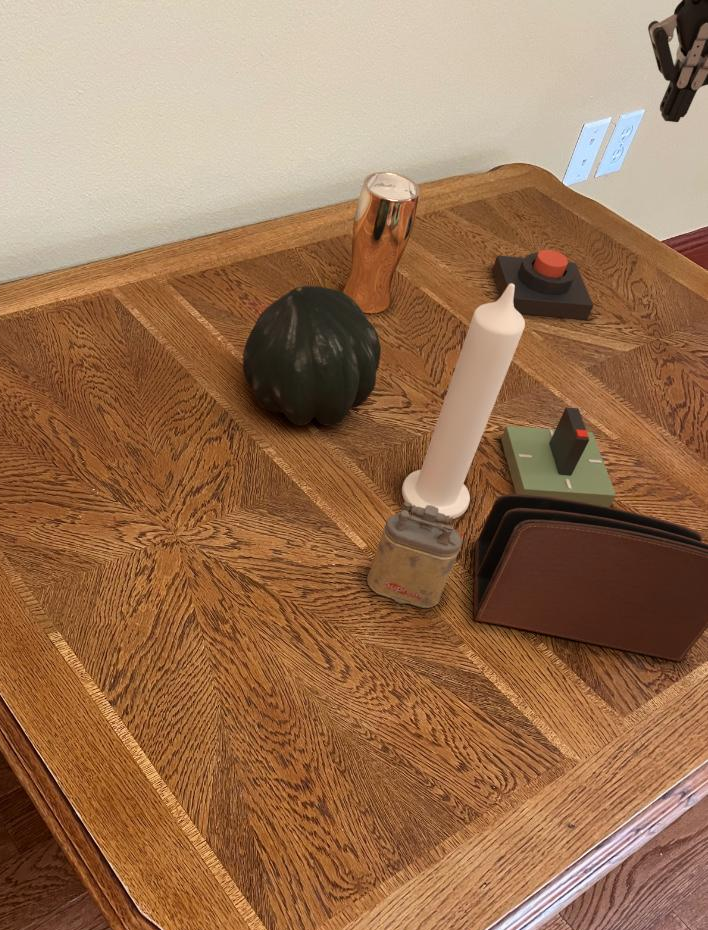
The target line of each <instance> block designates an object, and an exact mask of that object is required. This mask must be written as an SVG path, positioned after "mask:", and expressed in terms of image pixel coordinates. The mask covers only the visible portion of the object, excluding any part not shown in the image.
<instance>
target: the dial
mask: <svg viewBox="0 0 708 930" xmlns="http://www.w3.org/2000/svg"><path fill="white" fill-rule="evenodd" d="M580 411H581V410H580V408H578V407H570V406H569V407H568V406H565V408H564V410H563V413H562V415H561V416H560V419H559V421H558V423H557V426H556V428H555V429H556V430H555V432H554V434H553V436H552V438H551V440H550V442H549V444H550V447H551V450H552V454H553V457H554V460H555V463H556V467H557V470H558V473H559V475H572V473H573V471H574V469H575V467H576V465H577V463H578V461H579V460H580V458H581V456H582V454H583V452H584V450H585V448H586V446H587V444H588V442H589V436H588V433H587V432H588V431H587V428H586V426H585V424H584V420H583V417H582V415H581V412H580Z"/></svg>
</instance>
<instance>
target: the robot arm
mask: <svg viewBox="0 0 708 930" xmlns="http://www.w3.org/2000/svg"><path fill="white" fill-rule="evenodd" d="M675 30H676V35H677V41H678V47H677V49H676V54H675V56H676V57H675V61H674V59H673V55H672V51H671V47H670V42H672V41H673V39H674V32H675ZM647 31H648V35H649V39H650V43H651V46H652V50H653V54H654V58H655V61H656V67H657V69H658V71H659V73H661V75H662V76H663V78H664V80H665V81H667V82H669V83H668V86H667V88H666V90H665V93H664V95H663V97H662V98H661V99H662V100H661V102H660V104H659V111H660V112H661V114H660V115H661V117H662V119H663V120H664V122H672V123H679V121H680V120H681V118H685V116H686V115H687V114H688V111H689V109H690V108H691V105H692V103H693V100H694V98H695V96H696V94H697V92H698V90H699V89H701V88H702V87H705V86H708V0H681V1H680V2H679V3H678V4H677V5H676V6H675V9H674V12H673V14H672V15H670V16H668V17H666V18H665V19H663V20H662V21H660V22H659V21H658V20H653V21H651V22H650V23H649V25H648V27H647Z"/></svg>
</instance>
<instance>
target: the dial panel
mask: <svg viewBox="0 0 708 930" xmlns="http://www.w3.org/2000/svg"><path fill="white" fill-rule="evenodd" d="M555 430H556V428H555V429H554V428H546V427H545V428H543V427H530V426H518V425H516V426H515V425H505V428H504V430H503V433H502V435H501V438H500V442H501V446H502V449H503V453H504V456H505V460H506V463H507V467H508V471H509V474H510V478H511V482H512V485H513V489H514V492H515V493H514V494H524V495H536V496H546V497H553V498H560V499H567V500H573V501H579V502H585V503H590V504H596V505H601V506H605V507H610V508H611V505H612V503H613V502H614V500H615V498H616V496H617V493H616V492H615V491H616V490H615V489H614V485H613V483H612V481H611V478H610V475H609V471H608V470H607V467H606V464H605V462H604V459H603V456H602V454H601V453H602V452H601V451H600V448H599V445H598V442H597V440H596V437H595V435H594V434H595V433H594V432H593V431H587V433H588V436H589V442H588V444H587V446H586V448H585V450H584V452H583V454H582V456H581V458H580V460H579V461H578V463H577V465H576V467H575V469H574V471H573V473H572V475H559V473H558V470H557V467H556V463H555V460H554V457H553V454H552V450H551V447H550V444H549V442H550V440H551V438H552V436H553V434H554V432H555Z"/></svg>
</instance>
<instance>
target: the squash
mask: <svg viewBox="0 0 708 930" xmlns="http://www.w3.org/2000/svg"><path fill="white" fill-rule="evenodd" d="M378 334H379V333H378V331H377V330H376V328H375V327H374V325H372V323H371V321H370V320H369V319H368V318H367V316H366V313H363V311H362V310H361V308H360V307H359V306H358V305H357V303H356V302H355V301H354V300H353V299H352V298H351V297H349V296H347V295H346V294H344V293H343V291H340V290H337V289H333V288H328V287H325V286H319V285H301V286H297V287H294V288H293V289H292V290H290V291H288V292H287V293H285V294H283V295H282V296H281V297H279V298H278V299H276V300H274V302H272V303H271V304H270V305H268V306H267V307H266V308H265V309H264V310H263V311H262V312H261V314H260V315H259V316H258V318H257V320H256V322H255V324H254V326H253V327H252V328H251V331H250V333H249V335H248V337H247V339H246V342H245V345H244V349H243V355H242V371H243V375H244V380H245V382H246V384H247V385H248V386H249V387H250V388H251V389H252V391H253V395H254V398H255V400H256V401H257V403H258V404H259V405H260V406H261V407H262V408H264V410H265V409H266V410H268V411H271V412H273V413H283V414H284V415H285V417H286V418H287V420H288V421H290V422H291V423H293V424H295V425H296V426H305V425H307V424H308V423H310V422H311V421H312V420H313V419H314V418H315V419H316V421H317V422H319V423H320V424H322V425H324V426H334V425H337V424H339V423H341V422H342V421H343V420H344V419H345V417H346V416H347V415H348V413H349V412H350V410H351V409H355V408H358V407H361V406H362V405H363V404H364V403H365V402H366V401H368V398H369V396H370V394H371V393H372V392H373V391H374V390H375V388H376V382H377V381H376V380H377V371H378V369H379V365H380V359H381V354H382V353H381V352H382V348H381V343H380V340H379V339H380V338H379V335H378Z"/></svg>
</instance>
